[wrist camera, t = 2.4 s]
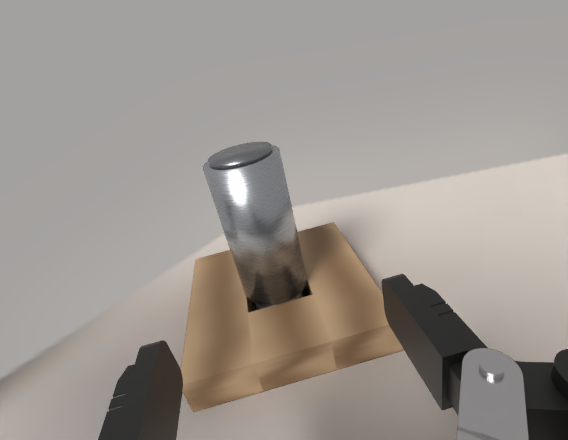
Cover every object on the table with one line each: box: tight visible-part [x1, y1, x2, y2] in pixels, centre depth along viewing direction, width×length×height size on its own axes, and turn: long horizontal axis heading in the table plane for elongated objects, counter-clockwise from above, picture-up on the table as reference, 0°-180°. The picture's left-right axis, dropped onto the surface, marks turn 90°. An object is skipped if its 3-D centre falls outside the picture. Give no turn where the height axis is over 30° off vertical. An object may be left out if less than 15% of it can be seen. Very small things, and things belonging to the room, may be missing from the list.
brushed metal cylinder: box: [203, 142, 307, 310], centre depth 28 cm, size 6×6×15 cm
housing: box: [181, 222, 403, 412], centre depth 31 cm, size 16×16×3 cm
